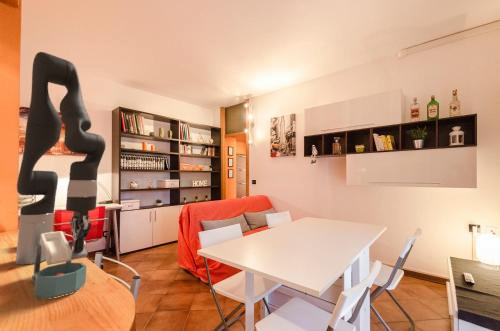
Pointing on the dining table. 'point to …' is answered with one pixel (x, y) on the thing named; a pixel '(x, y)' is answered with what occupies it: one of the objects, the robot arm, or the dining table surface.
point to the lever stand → (38, 259)
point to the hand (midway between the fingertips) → (78, 251)
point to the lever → (58, 248)
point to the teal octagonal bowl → (59, 280)
